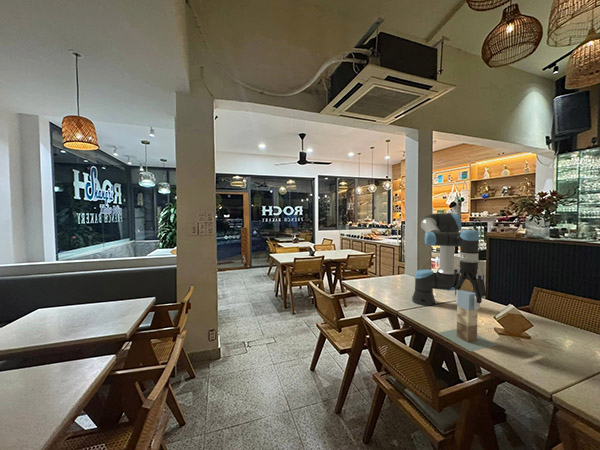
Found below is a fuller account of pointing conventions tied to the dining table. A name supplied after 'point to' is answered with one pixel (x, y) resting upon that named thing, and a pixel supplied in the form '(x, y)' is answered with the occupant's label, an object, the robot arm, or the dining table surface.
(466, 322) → the beech block
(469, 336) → the walnut block
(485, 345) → the build plate
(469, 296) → the blue block
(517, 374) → the dining table surface
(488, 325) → the trading card
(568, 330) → the dining table surface
